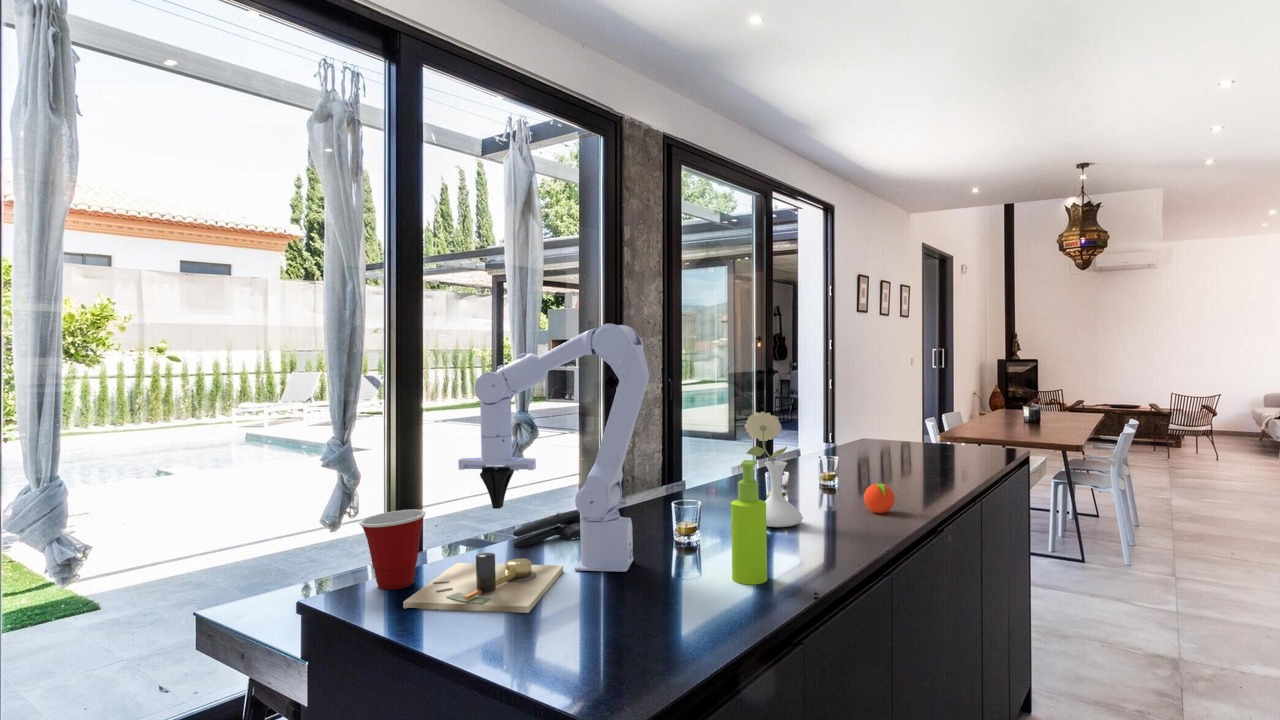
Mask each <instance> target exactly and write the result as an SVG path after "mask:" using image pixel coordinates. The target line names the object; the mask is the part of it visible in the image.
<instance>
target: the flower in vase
mask: <svg viewBox="0 0 1280 720" xmlns="http://www.w3.org/2000/svg"><path fill="white" fill-rule="evenodd" d="M744 428H745V429H746V433H748V436H749V437H750V438H752V439H754V440H757V439H758V441H760V442H761V441H762V447H759V446H752V447H751V448H750V449H748V450H747V452H746V454H747V455H751V456H755V457H762V455H763V454H764V453H766V456H768V458H769V459H770V461H765V462H764V465H765V467H766V468H767V470H768V472H769V473H768V474H769V478H770V494H769V496H768V497H767V499H766V500H764V501H765V502H766V527H769V528H770V527H772V528H786V527H793V526H797V525H798V524H800V523H801V522H802V521H803V519H804V517H803V514H802V513H801V512H800V511H799V509H797V508H796V507H795V506H794V505H792V504H791V502H789V501H788V500H787V499H786V498H785V497H784V496H783V490H782V478H783V472H784V470H785V468H786V466H788V465H787V464H788V462H786V461H783V460H782V461H781V460H773V458H774V457H778V456H780V455H782V454H783V453H785V452H786V450H787V449H788V446H785V447H783V448H781V449H778V450H775V451H774V453H773V454H771V455H770V454H769V452H768V451H767V449H766V447H765V442H767V441H768V440H770V441H771V440H773V439H776V438H778V437H779V434H781V431H782V429H783V428H782V424H781V423H780V420H779V419H778V416H776V415H773V414H772V415H771V412H764V411H760V412H755V413H754V414H750V416H749V417H747V420H746V421H745V424H744Z"/></svg>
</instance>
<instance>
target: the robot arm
mask: <svg viewBox="0 0 1280 720" xmlns="http://www.w3.org/2000/svg"><path fill="white" fill-rule="evenodd" d="M638 334H639V333H637V331H636V330H635V329H634V328H633V327H631V326H629V325H627V324H618V325H617V324H614V323H605V324H601V326H599V327H598V328H592V329H589V330H587V331H584V332H582V333H579V334H578V335H576V336H574V337H573V338H571V339H569V340H567V341H565V342H563V343H562V344H560V345H558V346H556V347H554V348H552V349H550V350H549V351H546V352H545V353H542V355H538V354H536V353H533V352H530V353H526V352H523V353H520V354H519V355H518V356H517V358H518V359H516V360H514V361H512V362H510V363H508V364H506V365H504V364H500V365H498V366H497V367H496V369H497V370H496V372H494V371H485V372H484V373H483V374H481V375H480V376H479V377H477V379H476V380H475V384H474V391H475V395H476V397H477V398H478V400H479V402H480V403H479V405H480V412H479V413H480V441H481V442H480V446H481V447H480V448H481V454H480V455H481V456H480V457H462V458H459V459H458V460H457V461H458V470H459V471H460V470H482V471H481V472H480V473H479V476H480V479H481V480H482V482H483V483H484V486H485V487H486V490H487V492H488V495H489V499H490V501H491V502H490V503H491V506H492V509H494V510H495V509H502V508H503V507H504V502H505V496H506V493H507V489H508V487H509V483H510V482H511V479H512V477H513V475H514V472H515V470H527V471H534V470H535V469H536V468H537V467H536V465H537V463H536V458H531V457H529V458H528V457H517V456H516V457H514V456H513V438H512V437H513V435H512V434H513V433H512V431H513V430H512V429H513V427H512V399H513V397H514V396H515V395H518V394H520V393H522V392H524V391H526V390H528V389H531V388H532V387H535V386H536V385H538V384H541V383H542V382H544V381H546V378H547V376H548V373H549V371H551V370H554V369H556V368H559V367H560V366H563V365H565V364H568V363H570V362H572V361H574V360H577V359H579V358H582V357H584V356H597V357H599V358H600V359H602V361H604V362H606V363H607V364H608V365H609V366H610V368H611V369H612V370H613V372H614V374H615V376H616V377H617V378H618V384H617V388H616V391H615V395H614V398H613V400H612V401H613V402H612V406H611V408H610V411H609V415H608V419H607V421H606V425H605V428H604V431H603V436H602V438H601V442H600V446H599V448H598V451H597V455H596V458H595V462H594V464H593V466H592V468H591V470H590V471H589V473H588V474H587V477H586V481H585V482H584V484H583V486H582V487H581V488H580V489H579V490H578V491H577V493H576V495H575V501H574V502H575V507H576V510H578V512H579V513H580V538H579V540H580V541H579V542H580V560H579V562H578V563H577V564H576V566H575V567H574V570H575V571H580V572H581V571H582V572H583V571H585V572H586V571H589V572H621V573H623V572H625V573H626V572H627V571H628V570H629V569H630V567H631V564H632V563H633V561H634V551H633V549H634V546H633V545H634V544H633V541H634V540H633V522H632V518H631V517H624V516H621V515H620V511H619V508H618V505H619V504H620V503H621V501H622V498H623V488H622V481H623V478H624V473H623V467H624V464H625V460H626V456H627V453H628V450H629V446H630V442H631V440H632V437H633V434H634V430H635V426H636V423H637V419H638V417H639V415H640V414H639V413H640V410H641V407H642V404H643V402H644V398H645V394H646V390H647V387H648V383H649V380H650V372H649V367H648V363H647V359H646V355H645V351H644V342H643V340H642V338H641V337H640V336H639V335H638Z"/></svg>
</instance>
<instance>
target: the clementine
mask: <svg viewBox="0 0 1280 720" xmlns="http://www.w3.org/2000/svg"><path fill="white" fill-rule="evenodd" d="M895 496H896V495H895V493H894V491H893V489H891V487H890V486H889V485H887V484H885V483H880V482H877V483H872V484H871V485H869V486H868V487H867V488H866V489H865V491H864V493H863V502H864V504H865V506H866V507H867V508H868V510H869V511H870V512H874V513H876V514H885V513H887V512H889V511H890V510H891V509H892V508H893V507H894V504H895V501H896V497H895Z"/></svg>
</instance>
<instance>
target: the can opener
mask: <svg viewBox="0 0 1280 720" xmlns="http://www.w3.org/2000/svg"><path fill="white" fill-rule="evenodd" d="M531 533H532V534H531ZM512 535H513V536H514V537H517V538H519V539H517V540H516V541H514V542H513V547H514V548H522V547H521V546H524V547H528V546H527V545H529V546H532V545H535V543H536V544H538V543H541V542H543V541H545V540H547V539H549V538H551V537H552V538H553V537H555V536H561V538H562V539H565V538H566V539H565V540H569V539H572V538H577V537H580V513H579V512H578V510H577V509H574V510H569V511H565V512H559V511H558V512H556V514H554V515H551V516H547V517H544V518H541V519H538V520H536V521H533V522H531V523H528V524H526V525H523V526H521V527H519V528H516V529H515V530H514V531H513V532H512ZM523 536H524V537H523ZM520 537H522V538H520ZM531 544H532V545H531Z"/></svg>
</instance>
